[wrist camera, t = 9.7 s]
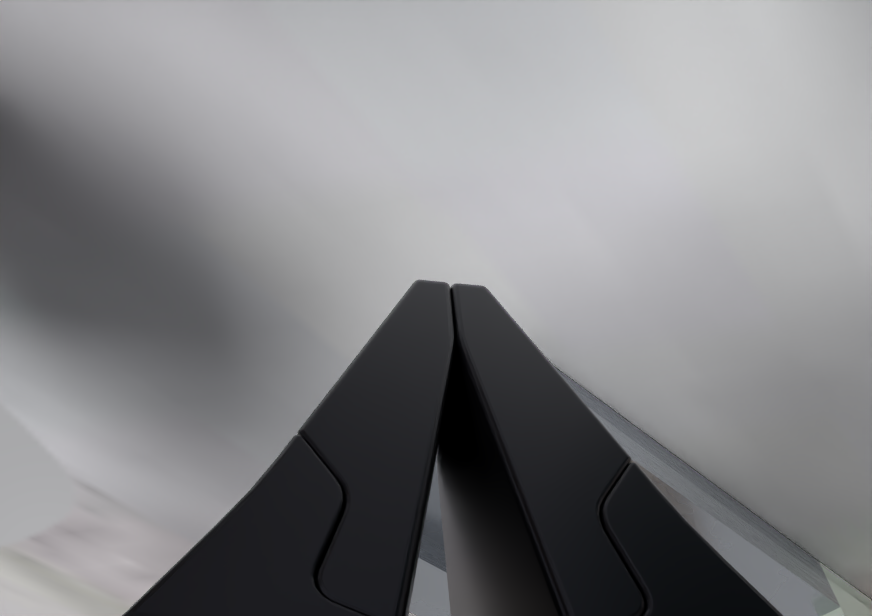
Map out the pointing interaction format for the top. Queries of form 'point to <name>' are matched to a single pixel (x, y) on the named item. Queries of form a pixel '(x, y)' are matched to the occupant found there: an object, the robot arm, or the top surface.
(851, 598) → the tray
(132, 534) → the top surface
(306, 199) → the top surface
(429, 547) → the slot bed
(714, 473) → the top surface
